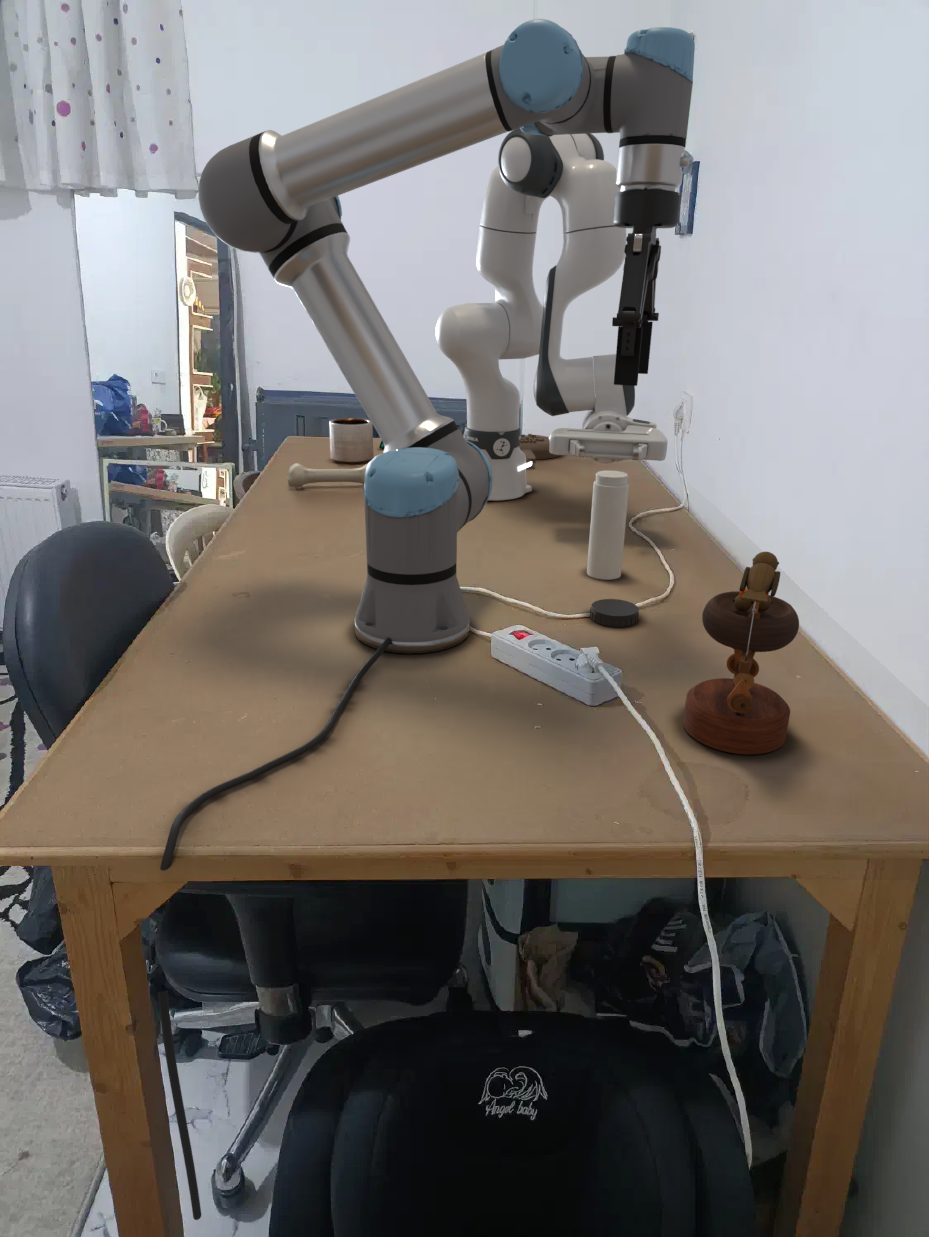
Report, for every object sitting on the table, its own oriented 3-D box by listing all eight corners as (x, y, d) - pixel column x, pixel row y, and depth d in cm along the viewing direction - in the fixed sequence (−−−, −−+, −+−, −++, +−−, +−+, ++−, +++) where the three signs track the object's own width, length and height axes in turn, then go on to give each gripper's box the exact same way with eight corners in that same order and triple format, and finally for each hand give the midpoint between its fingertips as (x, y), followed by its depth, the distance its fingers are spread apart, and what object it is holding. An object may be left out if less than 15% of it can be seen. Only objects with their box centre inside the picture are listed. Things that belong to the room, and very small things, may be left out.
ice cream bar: (488, 468, 206) (489, 451, 205) (481, 446, 232) (481, 431, 231) (574, 469, 207) (575, 452, 206) (557, 447, 233) (558, 432, 232)
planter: (327, 456, 217) (325, 418, 214) (369, 454, 220) (368, 417, 217) (334, 465, 208) (332, 425, 204) (377, 463, 211) (376, 424, 207)
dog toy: (379, 481, 192) (378, 460, 190) (380, 488, 186) (380, 465, 185) (288, 483, 189) (287, 461, 187) (287, 490, 183) (286, 467, 181)
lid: (624, 631, 114) (625, 619, 114) (581, 619, 118) (582, 608, 117) (646, 616, 119) (647, 605, 119) (603, 606, 123) (604, 595, 122)
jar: (600, 566, 140) (608, 468, 133) (627, 574, 136) (637, 474, 130) (579, 573, 136) (587, 473, 130) (606, 582, 132) (615, 479, 126)
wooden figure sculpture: (807, 766, 83) (825, 574, 75) (692, 766, 84) (698, 577, 77) (772, 695, 97) (784, 526, 89) (674, 696, 98) (678, 530, 91)
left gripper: (674, 179, 86) (653, 392, 94) (686, 199, 108) (669, 370, 116) (600, 180, 88) (586, 389, 96) (627, 199, 110) (614, 367, 118)
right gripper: (550, 417, 154) (547, 431, 141) (664, 423, 152) (672, 438, 139) (548, 451, 156) (545, 468, 144) (660, 457, 154) (667, 476, 142)
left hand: (631, 379), depth 106 cm, fingers open, 13 cm apart
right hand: (608, 453), depth 141 cm, fingers open, 8 cm apart
